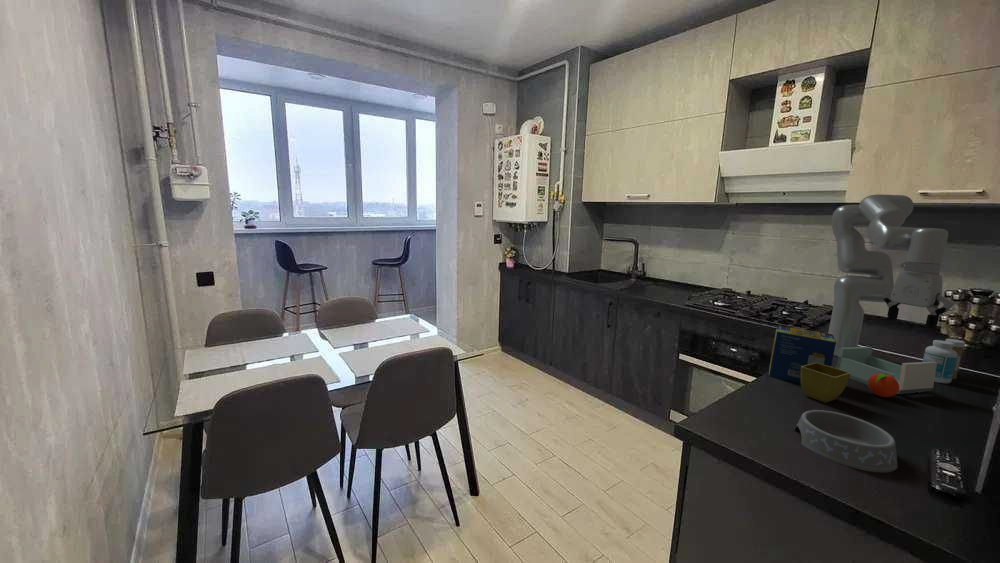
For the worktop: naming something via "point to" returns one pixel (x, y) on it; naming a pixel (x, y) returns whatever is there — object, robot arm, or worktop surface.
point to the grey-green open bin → (865, 365)
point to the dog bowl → (848, 441)
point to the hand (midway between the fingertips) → (910, 323)
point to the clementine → (883, 385)
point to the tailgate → (917, 377)
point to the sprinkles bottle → (958, 348)
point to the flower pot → (823, 381)
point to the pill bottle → (942, 360)
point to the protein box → (799, 351)
